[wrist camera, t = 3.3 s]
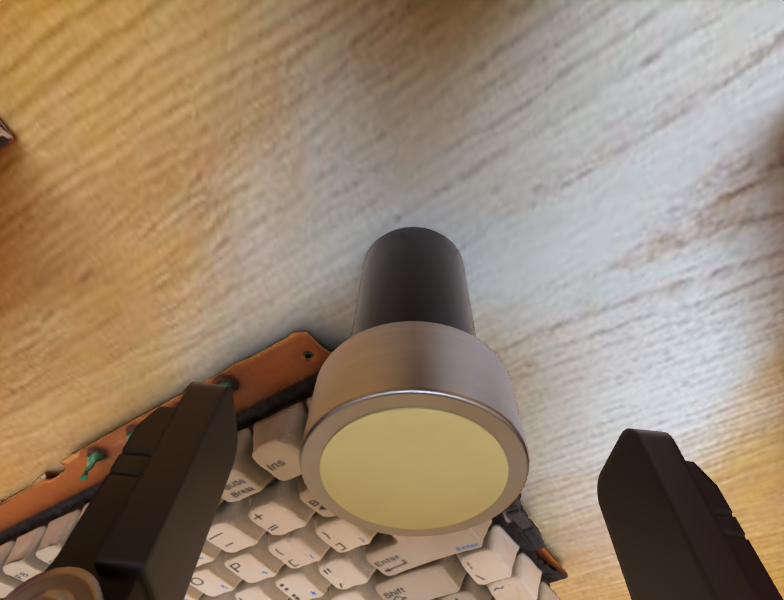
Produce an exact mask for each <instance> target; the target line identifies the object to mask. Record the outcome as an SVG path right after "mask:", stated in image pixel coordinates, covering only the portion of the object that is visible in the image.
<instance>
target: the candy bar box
mask: <svg viewBox="0 0 784 600" xmlns="http://www.w3.org/2000/svg"><path fill="white" fill-rule="evenodd" d="M12 141H13V136H12V134H11V133H10V132H9V131H8V129H7V128H6V127H5V126H4V124H3V123H2V122H1V121H0V150H1V149H3V148H4V147H6V146H7V145H8V144H10V143H11V142H12Z"/></svg>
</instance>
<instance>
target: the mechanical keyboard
mask: <svg viewBox="0 0 784 600" xmlns="http://www.w3.org/2000/svg"><path fill="white" fill-rule="evenodd" d="M306 353H311V354H312V357H311V358H305V355H306ZM331 353H332V352H330V351H328V350H326V349H325V348H323V347H322V346H321V345H320V344H319V343H318V342H317V341H316V340H315V339H314V338H313V337H312V336H311V335H310V334H309V333H308V332H296V333H291V334H289V336H288V337H287V338H286V339H282V340H280V341H279V342H278V343H276V344H273V345H271V346H270V347H269V348H267V349H265V350H263V351H260V352H258V353H257V354H256V355H253V356H252V357H250V358H247V359H244V360H242V361H240V362H238V363H235V364H233V365H232V366H230V367H229V368H228V369H226V370H224V371H223V372H221V373H219V374H217V375H215V376H214V377H212V378H210V379H208V380H207V381H205V382H203V383H207V384H216V385H226V386H231V387H232V390H233V397H234V406H235V416H236V425H237V435H238V442H237V451H236V456H235V461H234V464H233V467H232V470H231V473H230V476H229V478H228V481H227V484H226V486H225V489H224V492H223V495H222V497H221V500H220V503H219V505H218V508H217V511H216V514H215V516H214V519H213V522H212V524H211V527H210V530H209V533H208V535H207V538H206V541H205V544H204V546H203V549H202V552H201V554H200V557H199V560H198V563H197V565H196V568H195V571H194V573H193V576H192V579H191V582H190V584H189V587H188V590H187V592H186V595H185V598H184V600H560V599H559V597H558V596H557V595H556V593H555V592H554V591H553V590H552V589H551V588H550V584H549V583H551V582H555V581H558V580H561V579H565V578H567V577H568V574H567V572H566V571H565V569H563V568H562V566H561V565H560V564H559V563H557V561H556V560H555V559H554V558H552V556H551V555H550V554H549V553H548V552H547V550H546V549H545V547H546V545H545V543H544V541H543V540H542V537H541V534H540V531H539V529H538V528H537V527H536V525H535V524H534V523H533V522H532V520H531V519H529V518H528V515H527V514H526V512H525V511H524V509H523V507H522V505H521V503H520V501H519V500H520V498H521V493H520V494H519V495H518V497H517V498H516V499H515V500H514V501H513V502H512V503H511V504H510V505H509V506H508V507H507V508H506V509H505V510H504V511H502V512H501V513H500V514H498V515H497V516H495V517H493V518H492V519H490V520H488V521H486V522H484V523H482V524H480V525H477V526H474V527H472V528H469V529H466V530H462V531H459V532H455V533H449V534H444V535H436V536H421V537H412V536H398V535H389V534H384V533H379V532H375V531H371V530H368V529H364V528H361V527H359V526H356V525H353V524H351V523H349V522H347V521H345V520H343V519H341V518H339V517H338V516H336V515H334V514H333V513H331V512H330V511H329V510H327V509H326V508H325V507H323V506H322V505H321V504H320V503H319V502H318V501H317V500H316V499H315V498H314V496H313V495H312V494H311V493H310V491H309V490H308V488H307V486H306V484H305V483H304V480H303V477H302V474H301V470H300V463H299V457H300V449H301V444H302V440H303V436H304V431H305V427H306V423H307V419H308V414H309V410H310V406H311V401H312V397H313V393H314V388H315V384H316V380H317V377H318V374H319V371H320V369H321V367H322V365H323V364H324V362H325V361H326V359H327V358H328V356H329V355H330V354H331ZM183 394H184V393H183ZM183 394H181V395H179V396H177V397H175V398H173V399H172V400H170V401H168V402H166V403H164V404H162V405H160V406H165V407H175V408H176V407H177V405H178V403H179V402H180V400H181V398H182V396H183ZM158 407H159V406H158ZM158 407H157V408H158ZM157 408H155V409H153V410H151V411H149V412H147V413H145V414H144V415H142V416H140V417H138V418H136V419H134V420H133V421H131V422H129V423H127V424H126V425H124V426H122V427H120V428H119V429H117V430H115V431H113V432H112V433H109V434H107V435H105V436H104V437H102V438H100V439H98V440H97V441H95V442H93V443H91V444H89V445H87V446H86V447H84V448H82V449H81V450H80V451H76V452H74V453H72V455H70V456H69V457H67V458H65V459H63V460H62V461H61V463H62V464H63V465H64V466H65V467H66V469H65V471H64V472H60V474H59V476H57V477H54V478H52V479H48V478H47V477H46V473H43V474H42V475H41V477H39V478H38V479H37V480H36V481H35V482H33V484H32V485H31V486H30V487H28V488H26V489H24V490H22V491H21V492H20V493H18V494H16V495H14V496H12V497H10V498H9V499H7V500H5V501H4V502H2V503H1V504H0V600H1V599H4V598H5V597H6V596H7V595H8V594H9V593H10V592H11V591H13V590H14V589H15V588H16V587H17V586H19V585H20V584H22V583H23V582H25V581H26V580H28V579H29V578H31V577H33V576H35V575H37V574H39V573H42V572H44V571H45V570H46V569H47V568H48V566H49V565H50V564H51V563H52V562H53V561H54V559H55V558H56V556H57V555H58V554H59V552H60V550H61V549H62V547H63V546H64V544H65V542H66V541H67V539H68V537H69V536H70V534H71V532H72V531H73V529H74V528H75V526H76V524H77V523H78V521H79V519H80V518H81V516H82V514H83V513H84V511H85V509H86V508H87V506H88V505H89V503H90V501H91V500H92V498H93V496H94V495H95V493H96V491H97V490H98V488H99V487H100V485H101V483H102V482H103V480H104V478H105V477H106V475H109V473H110V468H111V467H112V465H113V464H114V462H115V460H116V459H117V457H118V455H119V454H121V453H122V449H123V447H124V446H125V444H126V442H127V441H128V439H129V437H130V436H131V434H132V432H133V431H134V429H135V428H136V426H137V425H138V424H139V423H140V422H141V421H143V420H144V419H145V418H146V417H147V416H149V415H150V414H151V413H152V412H153V411H155V410H156V409H157Z"/></svg>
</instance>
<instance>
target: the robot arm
mask: <svg viewBox="0 0 784 600" xmlns="http://www.w3.org/2000/svg"><path fill="white" fill-rule="evenodd" d="M237 442H238V435H237V425H236V416H235V406H234V397H233V390H232V387H231V386H226V385H216V384H207V383H197V382H192V383H191V384H190V385H189V386H188V387H187V389H186V391H185V392H184V394H183V396H182V398H181V400H180V402H179V403H178V405H177V407H176V408H175V407H165V406H159V407H158V408H157V409H156V410H155V411H153V412H152V413H151V414H150V415H149V416H147V417H146V418H145V419H144V420H143V421H141V422H140V423H139V424H138V425H137V426H136V428H135V429H134V431H133V432H132V434H131V436H130V437H129V439H128V441H127V442H126V444H125V446H124V447H123V449H122V453H121V454H119V455H118V457H117V459H116V460H115V462H114V464H113V465H112V467H111V468H110V473H109V475H106V477H105V478H104V480H103V482H102V483H101V485H100V487H99V488H98V490H97V491H96V493H95V495H94V496H93V498H92V500H91V501H90V503H89V505H88V506H87V508H86V509H85V511H84V513H83V514H82V516H81V518H80V519H79V521H78V523H77V524H76V526H75V528H74V529H73V531H72V532H71V534H70V536H69V537H68V539H67V541H66V542H65V544H64V546H63V547H62V549H61V550H60V552H59V554H58V555H57V556H56V558H55V559H54V561H53V562H52V563H51V564H50V565H49V566H48V568H47V569H46V570H45V571H44V572H42V573H39V574H37V575H35V576H33V577H31V578H29V579H28V580H26V581H25V582H23V583H22V584H20V585H19V586H17V587H16V588H15V589H14V590H13V591H11V592H10V593H9V594H8V595H7V596H6V597H5V598H4V599H1V600H184V598H185V595H186V592H187V590H188V587H189V584H190V582H191V579H192V576H193V573H194V571H195V568H196V565H197V563H198V560H199V557H200V554H201V552H202V549H203V546H204V544H205V541H206V538H207V535H208V533H209V530H210V527H211V524H212V522H213V519H214V516H215V514H216V511H217V508H218V505H219V503H220V500H221V497H222V495H223V492H224V489H225V486H226V484H227V481H228V478H229V476H230V473H231V470H232V467H233V464H234V461H235V456H236V451H237ZM597 493H598V501H599V505H600V508H601V511H602V514H603V517H604V520H605V523H606V526H607V528H608V531H609V534H610V537H611V540H612V543H613V546H614V549H615V552H616V555H617V558H618V561H619V564H620V567H621V570H622V573H623V575H624V578H625V581H626V584H627V587H628V590H629V593H630V596H631V599H632V600H783V599H782V597H781V595H780V593H779V592H778V590H777V588H776V586H775V585H774V583H773V581H772V580H771V578H770V576H769V574H768V573H767V571H766V569H765V567H764V566H763V564H762V562H761V561H760V559H759V557H758V555H757V554H756V552H755V550H754V548H753V547H752V545H751V543H750V542H749V540H746V539H745V533H744V531H743V530H742V528H741V526H740V524H739V523H738V521H737V519H736V517H733V516H732V511H731V509H730V507H729V505H728V504H727V502H726V500H725V498H724V497H723V495H722V493H721V492H720V490H719V488H718V486H717V485H716V484H715V483H714V482H713V481H712V480H711V479H710V478H709V477H708V476H707V475H706V474H705V473H704V472H703V471H702V470H701V469H700V468H699V467H698V466H697V465H696V464H695V463H694V462H689V461H685V459H684V458H683V456H682V454H681V452H680V450H679V448H678V446H677V445H676V443H675V441H674V439H673V438H672V437H671V436H670V435H669V434H668V433H666V432H658V431H649V430H639V429H629V428H628V429H625V430H624V431H623V432H622V434H621V435H620V437H619V439H618V441H617V443H616V445H615V446H614V448H613V450H612V452H611V454H610V456H609V458H608V459H607V461H606V463H605V465H604V467H603V469H602V471H601V473H600V475H599V478H598V485H597Z"/></svg>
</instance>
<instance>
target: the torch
mask: <svg viewBox="0 0 784 600" xmlns="http://www.w3.org/2000/svg"><path fill="white" fill-rule="evenodd" d="M529 461H530V460H529V453H528V448H527V444H526V440H525V435H524V431H523V427H522V423H521V418H520V414H519V410H518V406H517V401H516V397H515V393H514V389H513V384H512V380H511V378H510V375H509V372H508V370H507V368H506V367H505V365H504V363H503V362H502V360H501V359H500V358H499V357H498V355H497V354H496V353H495V352H494V351H493V350H491V349H490V348H489V347H488V346H487V345H486V344H485V343H483V342H482V341H480V340H479V339H477V338H476V334H475V328H474V322H473V316H472V311H471V305H470V299H469V293H468V287H467V281H466V275H465V269H464V263H463V260H462V257H461V254H460V253H459V251H458V249H457V248H456V247H455V245H454V244H453V243H452V242H451V241H450V240H449V239H447V238H446V237H445V236H443V235H441V234H439V233H437V232H435V231H432V230H429V229H425V228H417V227H410V228H403V229H398V230H395V231H392V232H390V233H388V234H386V235H384V236H383V237H381V238H380V239H379V240H377V241H376V242H375V243H374V244H373V246H372V247H371V248H370V249H369V251H368V253H367V255H366V257H365V260H364V263H363V269H362V275H361V281H360V287H359V293H358V299H357V305H356V311H355V317H354V323H353V329H352V335H351V338H349V339H348V340H346V341H345V342H344V343H342V344H341V345H340V346H338V347H337V348H336V349H335V350H334V351H333V352H332V353H331V354H330V355H329V356H328V358H327V359H326V361H325V362H324V364H323V365H322V367H321V369H320V371H319V374H318V377H317V380H316V384H315V388H314V393H313V397H312V401H311V406H310V410H309V414H308V419H307V423H306V427H305V431H304V436H303V440H302V444H301V449H300V457H299V463H300V470H301V474H302V477H303V480H304V483H305V484H306V486H307V488H308V490H309V491H310V493H311V494H312V495H313V496H314V498H315V499H316V500H317V501H318V502H319V503H320V504H321V505H322V506H323V507H325V508H326V509H327V510H329V511H330V512H331V513H333V514H334V515H336V516H338V517H339V518H341V519H343V520H345V521H347V522H349V523H351V524H353V525H356V526H359V527H361V528H364V529H368V530H371V531H375V532H379V533H384V534H389V535H398V536H412V537H421V536H436V535H444V534H449V533H455V532H459V531H462V530H466V529H469V528H472V527H474V526H477V525H480V524H482V523H484V522H486V521H488V520H490V519H492V518H493V517H495V516H497V515H498V514H500V513H501V512H502V511H504V510H505V509H506V508H507V507H508V506H509V505H510V504H511V503H512V502H513V501H514V500H515V499H516V498H517V497H518V495H519V494H520V492H521V491H522V489H523V487H524V485H525V483H526V479H527V476H528V472H529Z"/></svg>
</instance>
